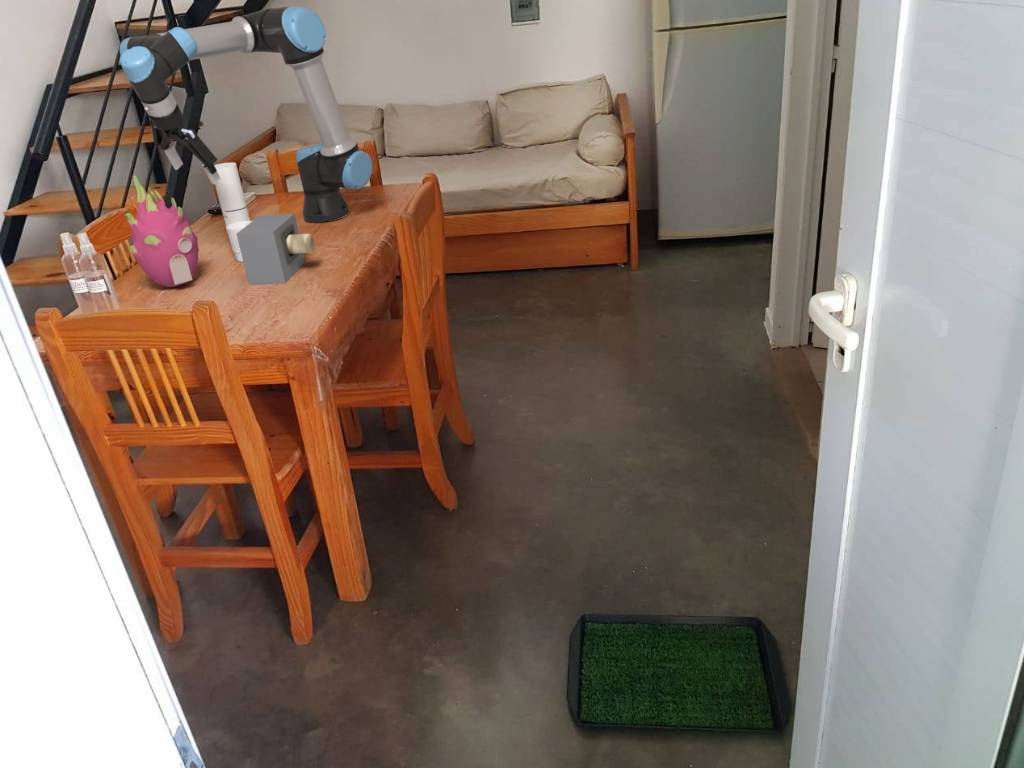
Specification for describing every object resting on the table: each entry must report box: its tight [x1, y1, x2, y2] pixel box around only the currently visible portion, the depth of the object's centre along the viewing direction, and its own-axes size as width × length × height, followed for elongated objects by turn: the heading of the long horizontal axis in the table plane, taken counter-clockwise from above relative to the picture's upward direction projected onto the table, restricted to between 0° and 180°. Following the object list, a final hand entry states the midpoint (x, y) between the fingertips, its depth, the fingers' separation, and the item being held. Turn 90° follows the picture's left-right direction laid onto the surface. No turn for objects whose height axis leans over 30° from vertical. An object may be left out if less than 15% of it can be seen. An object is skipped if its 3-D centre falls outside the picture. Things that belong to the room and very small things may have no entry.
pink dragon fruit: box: [124, 175, 200, 288], centre depth 205 cm, size 18×14×30 cm
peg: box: [285, 233, 315, 254], centre depth 209 cm, size 10×5×5 cm, turn 84°
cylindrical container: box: [214, 162, 251, 253], centre depth 230 cm, size 7×7×25 cm
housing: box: [236, 213, 306, 286], centre depth 211 cm, size 11×16×14 cm, turn 174°
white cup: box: [225, 220, 253, 263], centre depth 226 cm, size 8×8×10 cm
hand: (197, 173), depth 214 cm, fingers open, 13 cm apart
